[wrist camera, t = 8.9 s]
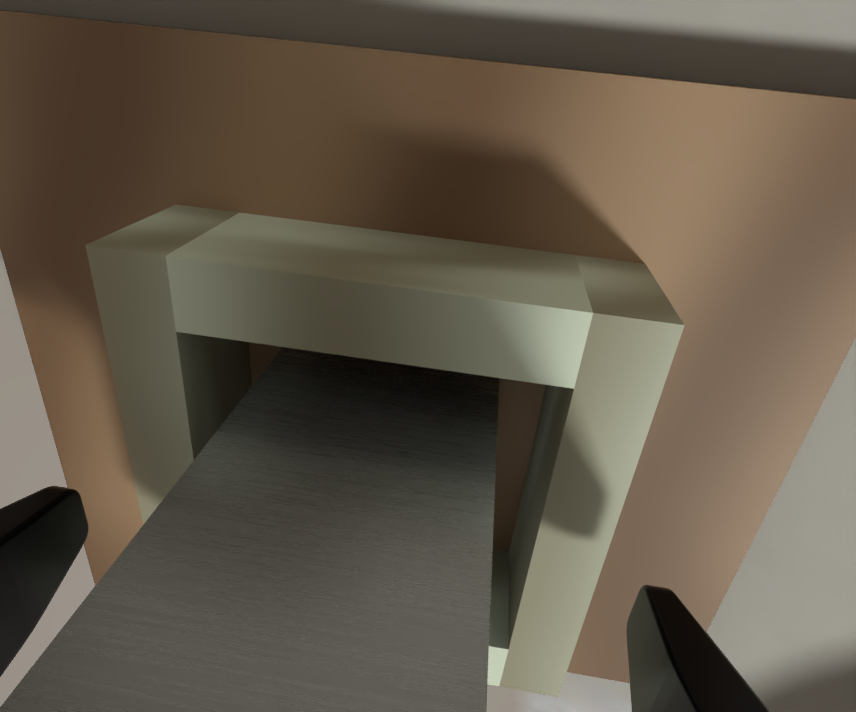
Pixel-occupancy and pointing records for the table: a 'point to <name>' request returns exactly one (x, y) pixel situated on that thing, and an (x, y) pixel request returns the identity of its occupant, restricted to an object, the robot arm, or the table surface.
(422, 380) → the grey tall block
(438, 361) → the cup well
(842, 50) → the table surface
